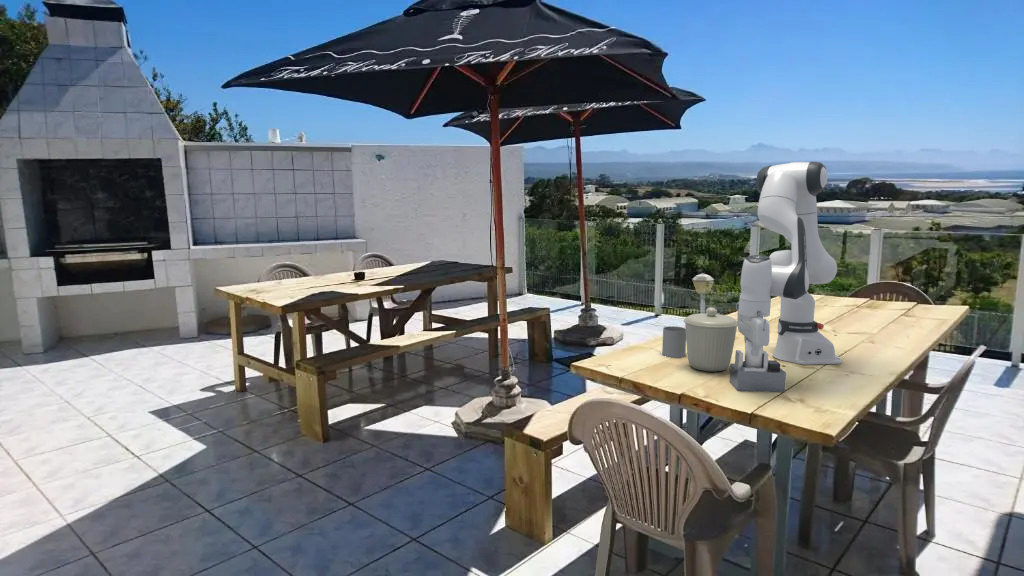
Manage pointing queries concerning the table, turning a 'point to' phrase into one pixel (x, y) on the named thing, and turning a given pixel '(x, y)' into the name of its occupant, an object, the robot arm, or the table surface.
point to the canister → (710, 340)
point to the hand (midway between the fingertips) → (751, 353)
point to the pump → (752, 360)
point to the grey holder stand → (757, 375)
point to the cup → (674, 342)
